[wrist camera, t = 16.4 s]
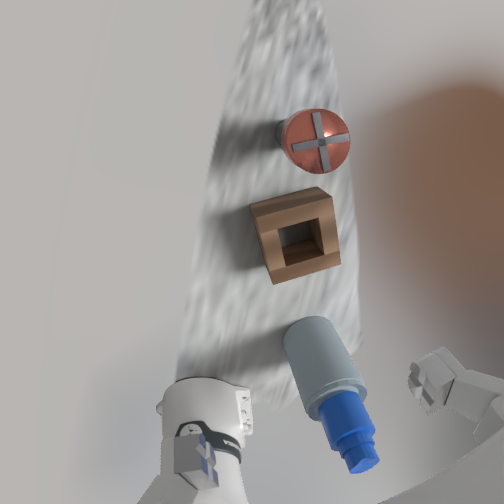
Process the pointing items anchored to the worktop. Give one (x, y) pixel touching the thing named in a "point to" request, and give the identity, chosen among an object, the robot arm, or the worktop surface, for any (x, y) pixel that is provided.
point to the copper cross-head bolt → (314, 140)
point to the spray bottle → (332, 389)
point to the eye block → (303, 253)
